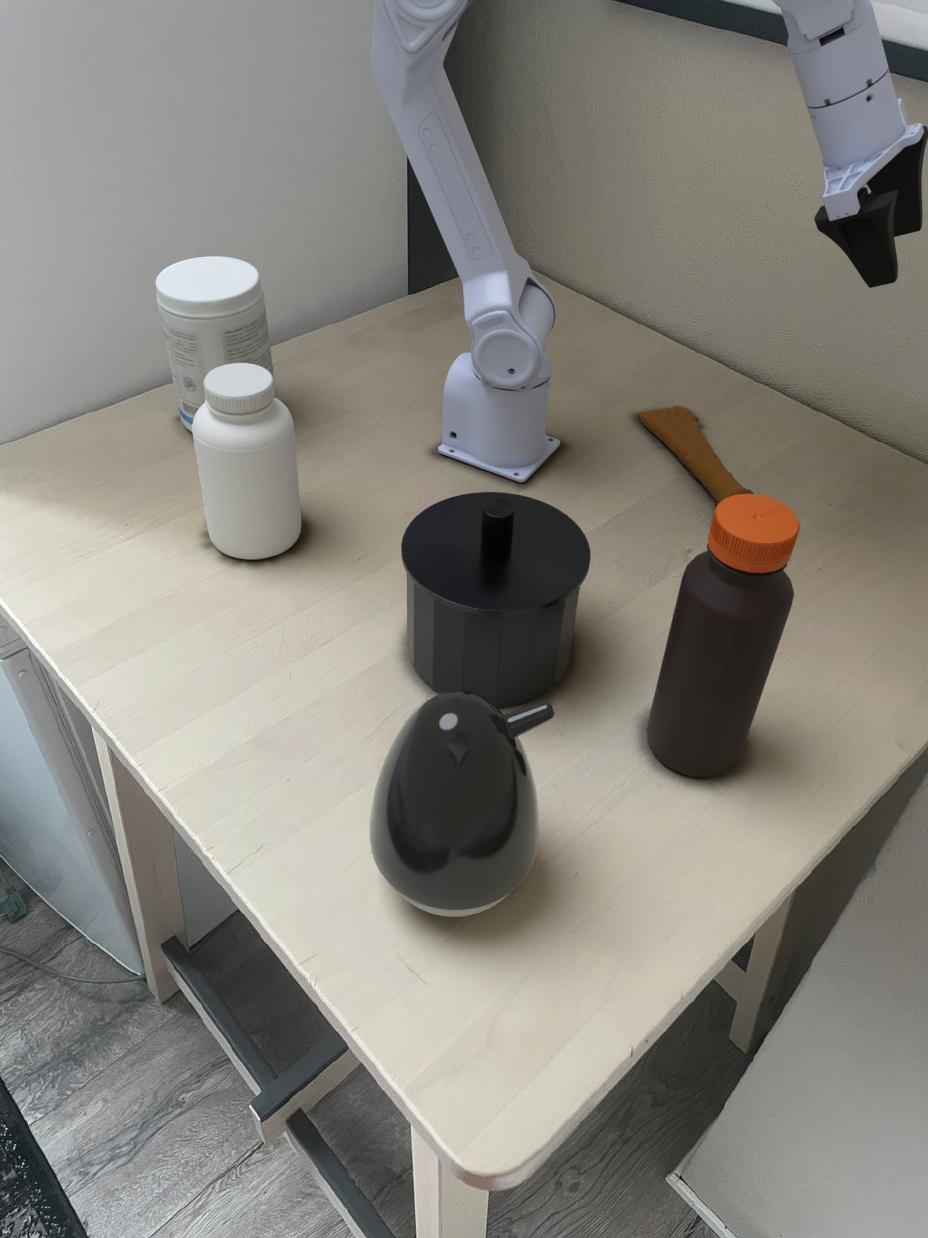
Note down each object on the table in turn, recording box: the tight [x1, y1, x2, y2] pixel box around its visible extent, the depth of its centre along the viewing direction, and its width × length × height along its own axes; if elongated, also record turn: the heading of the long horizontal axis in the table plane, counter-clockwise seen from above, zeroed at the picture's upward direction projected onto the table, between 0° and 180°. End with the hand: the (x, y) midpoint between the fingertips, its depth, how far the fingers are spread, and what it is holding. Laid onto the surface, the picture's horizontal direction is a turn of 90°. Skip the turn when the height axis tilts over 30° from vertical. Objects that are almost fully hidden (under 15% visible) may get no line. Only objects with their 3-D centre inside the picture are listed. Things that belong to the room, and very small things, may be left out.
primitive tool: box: [638, 405, 755, 504], centre depth 98 cm, size 19×6×4 cm, turn 15°
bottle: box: [645, 493, 801, 778], centre depth 66 cm, size 7×7×20 cm
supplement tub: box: [155, 255, 278, 434], centre depth 97 cm, size 10×10×15 cm
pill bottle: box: [191, 363, 302, 560], centre depth 84 cm, size 8×8×15 cm
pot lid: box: [400, 491, 592, 616], centre depth 72 cm, size 13×13×5 cm
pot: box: [406, 573, 581, 708], centre depth 76 cm, size 12×12×10 cm
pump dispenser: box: [368, 690, 555, 918], centre depth 60 cm, size 10×10×15 cm
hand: (895, 256), depth 80 cm, fingers open, 7 cm apart
